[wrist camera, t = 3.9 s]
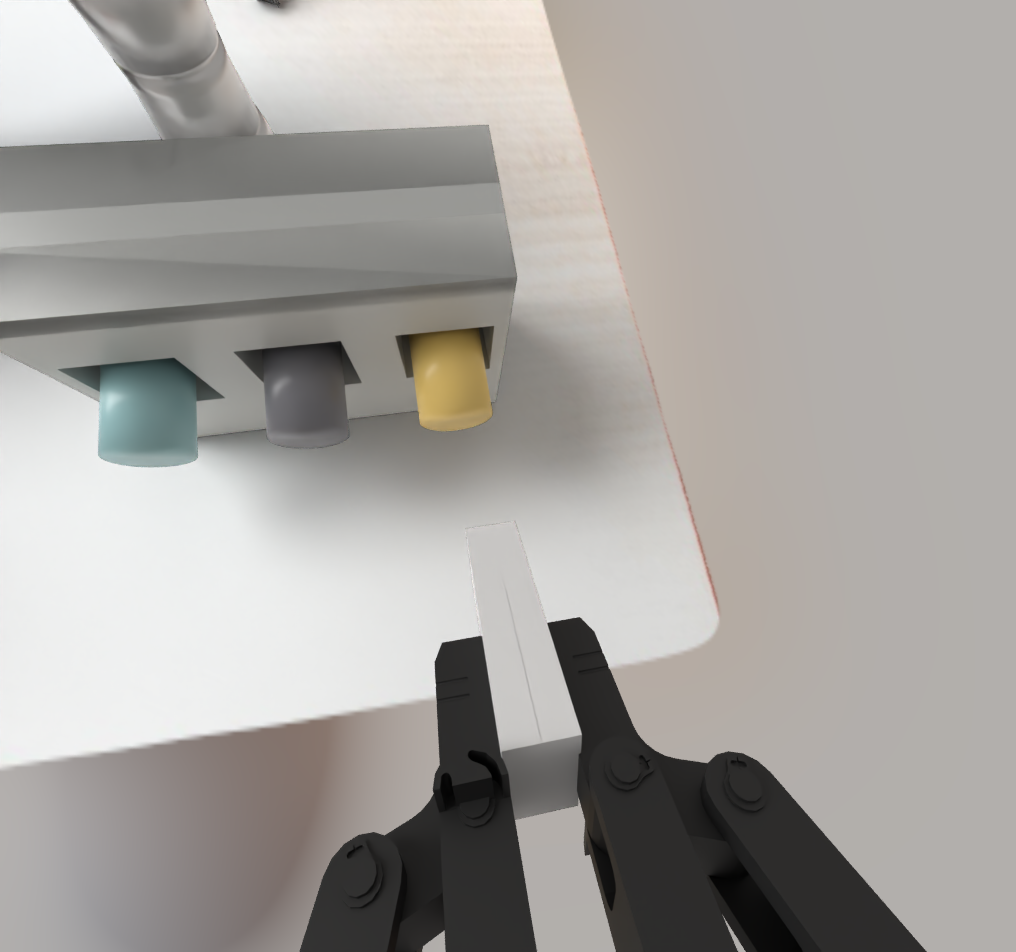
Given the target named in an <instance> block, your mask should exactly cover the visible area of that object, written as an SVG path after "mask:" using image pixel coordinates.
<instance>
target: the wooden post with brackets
mask: <svg viewBox="0 0 1016 952" xmlns="http://www.w3.org/2000/svg"><path fill="white" fill-rule="evenodd" d="M263 1H266V2H269V3H272V4H275V5H277V6H278V7H279V5H280V3H279V1H278V0H263Z"/></svg>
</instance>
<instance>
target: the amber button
mask: <svg viewBox="0 0 1016 952" xmlns="http://www.w3.org/2000/svg"><path fill="white" fill-rule="evenodd" d="M408 336H409V343H410V351H411V359H412V367H413V374H414V382H415V390H416V398H417V405H418V413H419V421H420V425H421V426H422V427H424V428H426V429H429V430H435V431H456V430H463V429H467V428H471V427H475V426H478V425H480V424H482V423H484V422H486V421H488V420H489V419H490V418H491V417H492V415H493V412H492V406H491V400H490V394H489V388H488V382H487V376H486V370H485V363H484V357H483V351H482V345H481V339H480V333H479V327H477V328H467V329H457V330H447V331H437V332H427V333H417V334H408Z"/></svg>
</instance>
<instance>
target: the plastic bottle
mask: <svg viewBox="0 0 1016 952" xmlns="http://www.w3.org/2000/svg"><path fill="white" fill-rule="evenodd" d="M68 1H69V2H70V4H71V5H72V6H73V7H74V9H75V10H76V11H77V12H78V13H79V15H80V16H81V17H82V18H83V19H84V21H85V22H86V23H87V25H88V26H89V27H90V29H91V30H92V32H93V33H94V34H95V36H96V37H97V38H98V40H99V41H100V43H101V44H102V45H103V47H104V48H105V49H106V51H107V52H108V53H109V55H110V56H111V57H112V58H113V60H114V62H115V63H116V64H117V66H118V67H119V68H120V70H121V71H122V73H123V74H124V75H125V77H126V78H127V79H128V81H129V83H130V84H131V86H132V88H133V90H134V91H135V93H136V95H137V97H138V98H139V100H140V102H141V103H142V105H143V107H144V109H145V110H146V112H147V114H148V115H149V117H150V119H151V121H152V122H153V124H154V126H155V127H156V129H157V131H158V133H159V135H160V138H161V140H166V139H188V138H210V137H232V136H253V135H274V133H273V131H272V130H271V128H270V126H269V124H268V123H267V121H266V119H265V118H264V116H263V115H262V114H261V112H260V111H259V109H258V108H257V107H256V106H255V104H254V102H253V101H252V99H251V97H250V95H249V93H248V91H247V89H246V88H245V86H244V84H243V82H242V80H241V78H240V76H239V75H238V73H237V71H236V69H235V67H234V65H233V63H232V62H231V60H230V58H229V56H228V54H227V52H226V49H225V47H224V44H223V42H222V39H221V37H220V35H219V33H218V31H217V29H216V24H215V22H214V20H213V17H212V15H211V12H210V10H209V7H208V5H207V2H206V0H68Z"/></svg>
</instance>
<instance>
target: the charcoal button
mask: <svg viewBox="0 0 1016 952" xmlns="http://www.w3.org/2000/svg"><path fill="white" fill-rule="evenodd" d="M262 358H263V376H264V393H265V411H266V429H267V439H268V440H269V441H270V442H271V443H273V444H276V445H279V446H283V447H289V448H304V449H307V448H321V447H327V446H332V445H336V444H339V443H341V442H343V441H345V440H346V439H347V438H348V437H349V426H348V415H347V405H346V394H345V384H344V373H343V363H342V352H341V342H340V341H336V342H326V343H316V344H306V345H296V346H286V347H276V348H266V349H262Z"/></svg>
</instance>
